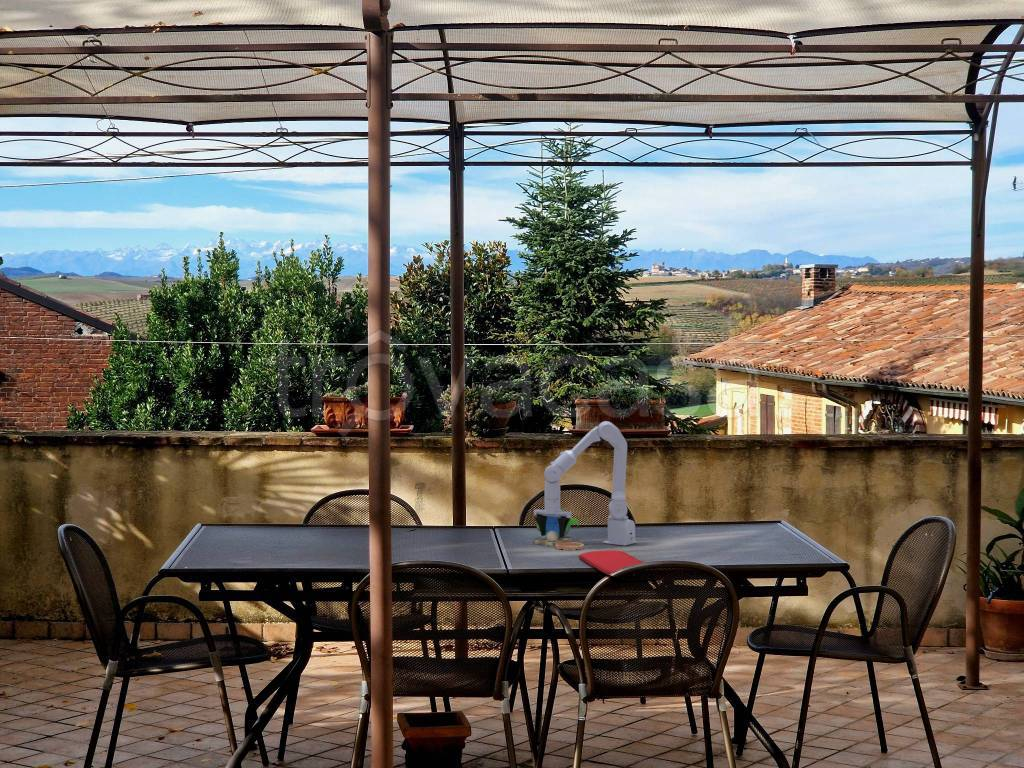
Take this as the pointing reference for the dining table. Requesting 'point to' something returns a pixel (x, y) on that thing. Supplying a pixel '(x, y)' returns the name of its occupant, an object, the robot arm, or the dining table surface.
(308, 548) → the dining table surface
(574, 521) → the snack cup
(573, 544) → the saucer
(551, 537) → the ball
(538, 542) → the tray
